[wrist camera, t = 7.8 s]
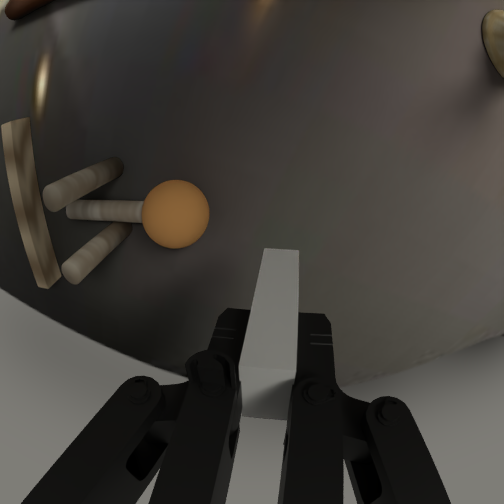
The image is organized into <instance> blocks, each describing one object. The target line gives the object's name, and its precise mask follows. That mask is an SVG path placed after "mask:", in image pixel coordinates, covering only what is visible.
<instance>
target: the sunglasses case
mask: <svg viewBox="0 0 504 504" xmlns="http://www.w3.org/2000/svg"><path fill="white" fill-rule="evenodd" d="M52 1H54V0H10V1H9V2H8V4H7V5H6V7H5V14H6V16H7V17H8V18H9V19H11V20H17V19H20V18H22V17H24V16H26V15H28V14H29V13H31V12H33V11H34V10H36V9H38V8H40V7H42V6H44V5H46V4H48V3H50V2H52Z"/></svg>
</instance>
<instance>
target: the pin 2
mask: <svg viewBox="0 0 504 504" xmlns="http://www.w3.org/2000/svg"><path fill="white" fill-rule="evenodd" d="M131 232H132V225H131V223H130V222H117V221H114V222H113V223H111V224H110V225H109V226H108V227H106V228H105V229H104V230H103V231H101V232H100V233H99V234H98V235H96V236H95V237H94V238H93V239H91V240H90V241H89V242H88V243H87V244H85V245H84V246H83V247H82V248H81V249H79V250H78V251H77V252H76V253H75V254H73V255H72V256H71V257H70V258H69V259H68V260H66V261H65V262H64V263H63V264H62V273H63V275H64V277H65V278H66V279H67V280H68V281H69V282H70V283H72V284H79V283H80V282H81V281H82V280H83V279H84V278H85V277H86V276H87V275H88V274H89V273H90V272H91V271H92V270H93V269H94V268H95V267H96V266H97V265H98V264H99V263H100V262H101V261H102V260H103V259H104V258H105V257H106V256H107V255H108V254H109V253H110V252H111V251H112V250H113V249H114V248H115V247H117V246H118V245H119V244H120V243H121V242H122V241H123V240H124V239H125V238H126V237H127V236H128V235H129V234H130V233H131Z"/></svg>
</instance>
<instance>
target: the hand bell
mask: <svg viewBox="0 0 504 504" xmlns="http://www.w3.org/2000/svg"><path fill="white" fill-rule="evenodd" d="M482 31H483V40H484V44H485V47H486V50H487V52H488V55H489V57H490V59H491V61H492V63H493V65H494V66H495V68H496V69H497V71H498V72H499V73H500V75H501V76H502V77H503V78H504V11H503V10H492V11H490V12H488V13H487V14H486V16H485V17H484V20H483V24H482Z"/></svg>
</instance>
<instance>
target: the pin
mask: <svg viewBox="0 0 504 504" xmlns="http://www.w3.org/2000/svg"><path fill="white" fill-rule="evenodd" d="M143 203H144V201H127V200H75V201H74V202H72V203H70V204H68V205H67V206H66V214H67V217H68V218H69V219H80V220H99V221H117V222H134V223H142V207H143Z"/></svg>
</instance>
